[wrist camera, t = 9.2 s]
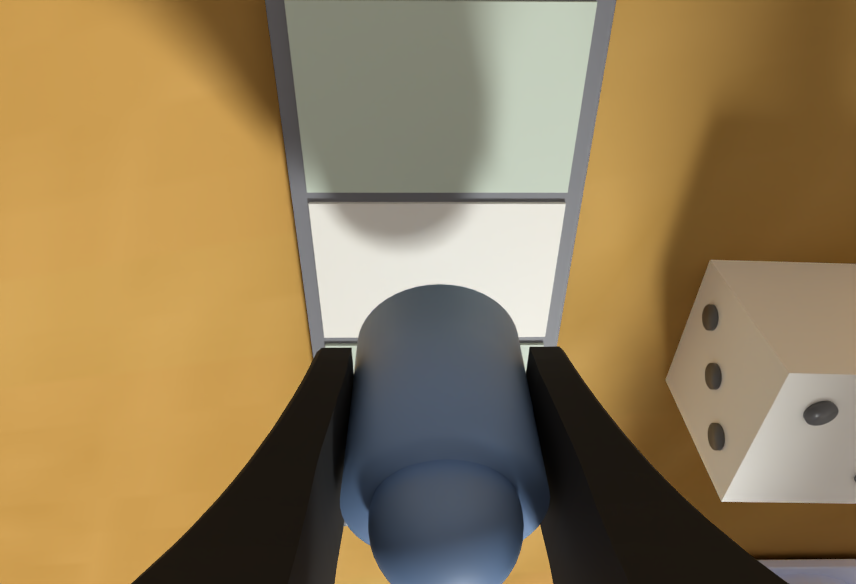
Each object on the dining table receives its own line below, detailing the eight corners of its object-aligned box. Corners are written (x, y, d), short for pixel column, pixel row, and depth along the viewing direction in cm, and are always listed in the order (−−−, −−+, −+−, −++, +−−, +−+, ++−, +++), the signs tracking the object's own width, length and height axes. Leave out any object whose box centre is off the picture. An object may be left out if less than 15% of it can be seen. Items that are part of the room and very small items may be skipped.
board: (523, 512, 23) (526, 526, 23) (337, 514, 23) (335, 528, 23) (611, -13, 13) (619, -6, 12) (268, -14, 13) (262, -8, 12)
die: (804, 381, 20) (894, 507, 16) (661, 377, 19) (718, 504, 16) (870, 262, 17) (996, 381, 13) (705, 257, 17) (786, 376, 13)
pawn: (510, 404, 15) (551, 651, 11) (361, 404, 15) (338, 653, 10) (527, 284, 13) (586, 530, 8) (352, 284, 13) (319, 533, 8)
